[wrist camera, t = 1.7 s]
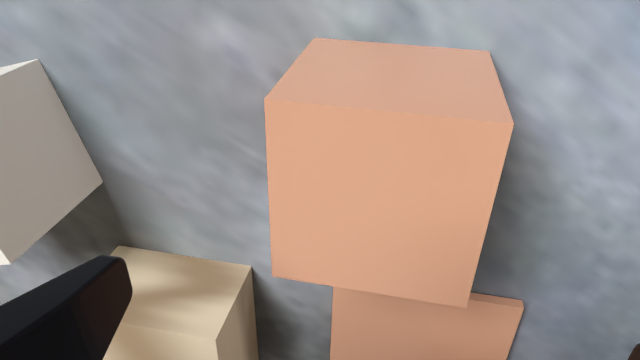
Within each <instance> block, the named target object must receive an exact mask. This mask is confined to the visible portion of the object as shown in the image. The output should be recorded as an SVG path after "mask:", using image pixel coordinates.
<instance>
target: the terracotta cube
mask: <svg viewBox="0 0 640 360" xmlns="http://www.w3.org/2000/svg"><path fill="white" fill-rule="evenodd" d="M264 106H265V128H266V150H267V173H268V195H269V217H270V240H271V262H272V276H273V277H279V278H285V279H291V280H297V281H304V282H310V283H316V284H322V285H328V286H334V287H341V288H347V289H353V290H359V291H365V292H372V293H378V294H384V295H390V296H396V297H402V298H409V299H415V300H421V301H427V302H433V303H439V304H446V305H452V306H458V307H464V308H466V307H467V303H468V299H469V295H470V292H471V288H472V284H473V280H474V276H475V272H476V269H477V265H478V261H479V257H480V253H481V249H482V245H483V242H484V238H485V234H486V230H487V226H488V222H489V219H490V215H491V211H492V207H493V203H494V199H495V196H496V192H497V188H498V184H499V180H500V176H501V172H502V169H503V165H504V161H505V157H506V153H507V149H508V146H509V142H510V138H511V134H512V130H513V126H514V122H513V119H512V116H511V113H510V110H509V108H508V105H507V102H506V99H505V96H504V93H503V90H502V87H501V84H500V81H499V79H498V76H497V73H496V70H495V67H494V64H493V61H492V58H491V55H490V53H489V51H481V50H468V49H454V48H441V47H428V46H415V45H402V44H389V43H376V42H362V41H349V40H336V39H323V38H314V39H313V40H312V41H311V42H310V43H309V45H308V46H307V47H306V48H305V50H304V51H303V52H302V53H301V54H300V56H299V57H298V58H297V59H296V61H295V62H294V63H293V64H292V66H291V67H290V68H289V69H288V70H287V72H286V73H285V74H284V75H283V77H282V78H281V79H280V80H279V81H278V83H277V84H276V85H275V86H274V88H273V89H272V90H271V91H270V92H269V94H268V95H267V96H266V97H265V99H264Z"/></svg>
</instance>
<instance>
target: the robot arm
mask: <svg viewBox="0 0 640 360" xmlns="http://www.w3.org/2000/svg"><path fill="white" fill-rule="evenodd" d="M132 293H133V288H132V284H131V280H130V276H129V272H128V268H127V265H126V262H125V260H124V259H123V258H121V257H117V256H111V255H100V256H98V257H96V258H94V259H92V260H90V261H88V262H86V263H84V264H82V265H80V266H78V267H76V268H74V269H72V270H70V271H68V272H66V273H64V274H62V275H60V276H58V277H56V278H54V279H52V280H50V281H48V282H46V283H44V284H42V285H40V286H38V287H36V288H34V289H32V290H30V291H29V292H27V293H25V294H23V295H21V296H19V297H17V298H15V299H13V300H11V301H9V302H7V303H5V304H3V305H1V306H0V360H103V358H104V356H105V354H106V352H107V350H108V348H109V345H110V343H111V341H112V339H113V337H114V335H115V333H116V331H117V329H118V327H119V324H120V322H121V320H122V318H123V316H124V314H125V312H126V310H127V308H128V306H129V303H130V301H131V298H132ZM628 360H640V343H639V344H637V345H636V346H635V348H634V349H633V351H632V353H631V355H630V356H629V358H628Z"/></svg>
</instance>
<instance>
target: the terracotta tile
mask: <svg viewBox="0 0 640 360" xmlns="http://www.w3.org/2000/svg"><path fill="white" fill-rule="evenodd" d="M523 310H524V305H523V301H522V300H517V299H511V298H504V297H498V296H491V295H485V294H479V293H472V292H470V295H469V299H468V303H467V307H466V308H464V307H458V306H452V305H446V304H439V303H433V302H427V301H421V300H415V299H409V298H402V297H396V296H390V295H384V294H378V293H372V292H365V291H359V290H353V289H347V288H341V287H334V286H333V305H332V326H331V347H330V360H506V359H507V356H508V353H509V350H510V347H511V344H512V342H513V339H514V336H515V333H516V330H517V327H518V325H519V322H520V319H521V316H522V313H523Z"/></svg>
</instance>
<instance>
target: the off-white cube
mask: <svg viewBox="0 0 640 360" xmlns="http://www.w3.org/2000/svg"><path fill="white" fill-rule="evenodd" d="M102 183H103V180H102V179H101V177H100V175H99V173H98V171H97V169H96V167H95V165H94V163H93V162H92V160H91V158H90V156H89V154H88V152H87V150H86V148H85V146H84V144H83V143H82V141H81V139H80V137H79V135H78V133H77V131H76V129H75V127H74V126H73V124H72V122H71V120H70V118H69V116H68V114H67V112H66V110H65V108H64V107H63V105H62V103H61V101H60V99H59V97H58V95H57V93H56V91H55V90H54V88H53V86H52V84H51V82H50V80H49V78H48V76H47V74H46V73H45V71H44V69H43V67H42V65H41V63H40V61H39V59H36V60H31V61H27V62H23V63H18V64H14V65H9V66H5V67H1V68H0V265H8V264H12V263H13V262H14V261H15V260H16V259H17V258H19V257H20V256H21V255H22V254H23V253H24V252H25V251H26V250H28V249H29V248H30V247H31V246H32V245H33V244H34V243H35V242H37V241H38V240H39V239H40V238H41V237H42V236H43V235H44V234H45V233H47V232H48V231H49V230H50V229H51V228H52V227H53V226H54V225H56V224H57V223H58V222H59V221H60V220H61V219H62V218H63V217H65V216H66V215H67V214H68V213H69V212H70V211H71V210H72V209H74V208H75V207H76V206H77V205H78V204H79V203H80V202H81V201H83V200H84V199H85V198H86V197H87V196H88V195H89V194H90V193H91V192H93V191H94V190H95V189H96V188H97V187H98V186H99V185H100V184H102Z"/></svg>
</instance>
